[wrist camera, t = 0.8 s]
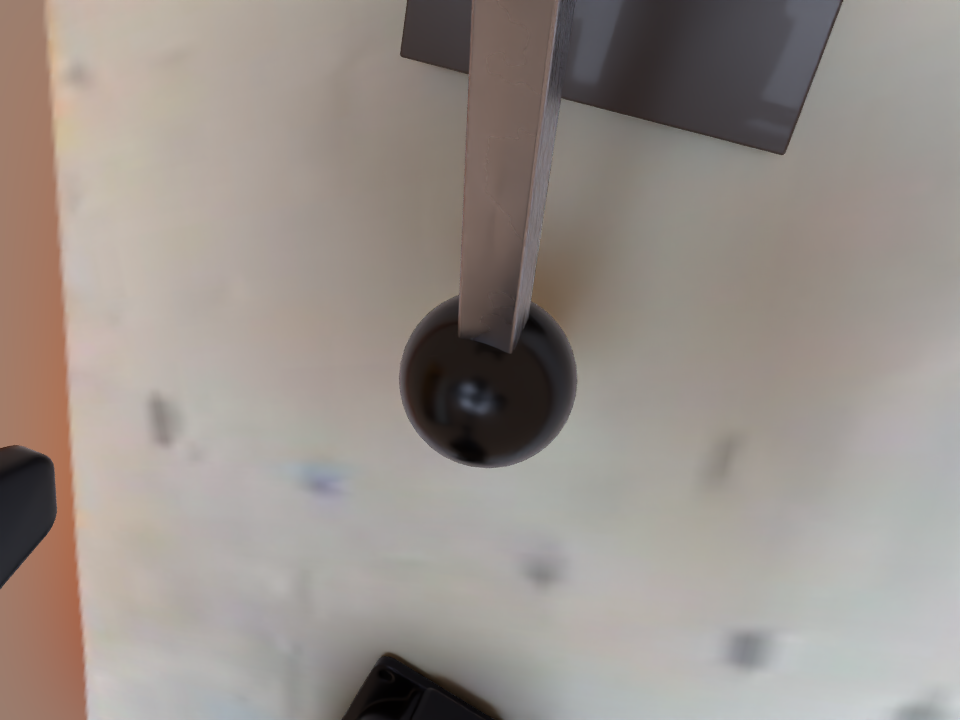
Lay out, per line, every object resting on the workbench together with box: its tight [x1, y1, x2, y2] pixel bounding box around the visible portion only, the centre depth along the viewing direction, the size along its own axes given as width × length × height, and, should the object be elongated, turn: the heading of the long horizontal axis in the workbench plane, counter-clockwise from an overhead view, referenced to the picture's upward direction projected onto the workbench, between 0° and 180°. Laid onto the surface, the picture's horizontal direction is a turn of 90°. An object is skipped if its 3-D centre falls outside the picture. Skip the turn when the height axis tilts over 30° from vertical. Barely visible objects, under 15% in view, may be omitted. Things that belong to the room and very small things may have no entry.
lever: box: [399, 0, 577, 468], centre depth 12 cm, size 15×4×4 cm, turn 168°
